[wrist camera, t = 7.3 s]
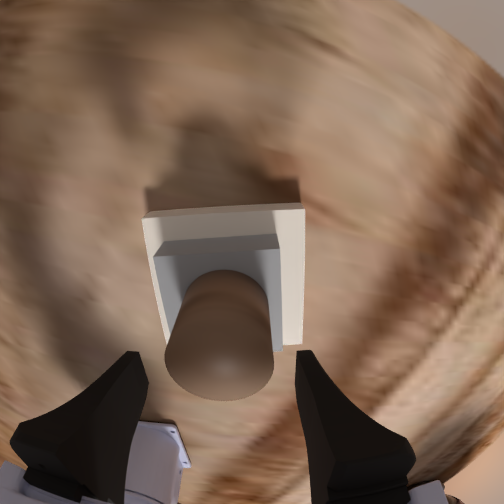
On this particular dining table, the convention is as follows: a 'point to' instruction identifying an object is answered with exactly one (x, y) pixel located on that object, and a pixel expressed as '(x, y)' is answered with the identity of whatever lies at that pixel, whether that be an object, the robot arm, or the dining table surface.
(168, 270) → the top block
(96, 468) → the robot arm
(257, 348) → the walnut cylinder
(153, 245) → the base block
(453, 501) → the amphora vase
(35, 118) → the dining table surface
